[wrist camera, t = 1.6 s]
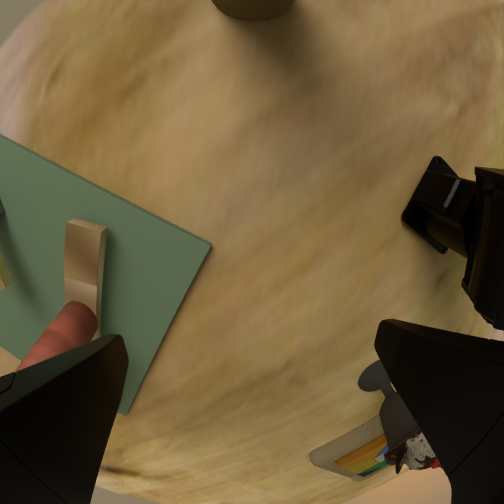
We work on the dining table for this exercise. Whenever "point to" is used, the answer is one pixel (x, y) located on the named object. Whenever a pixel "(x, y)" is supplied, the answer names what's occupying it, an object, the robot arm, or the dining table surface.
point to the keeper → (3, 278)
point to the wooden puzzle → (355, 452)
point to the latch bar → (76, 293)
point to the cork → (253, 8)
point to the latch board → (115, 263)
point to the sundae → (398, 424)
